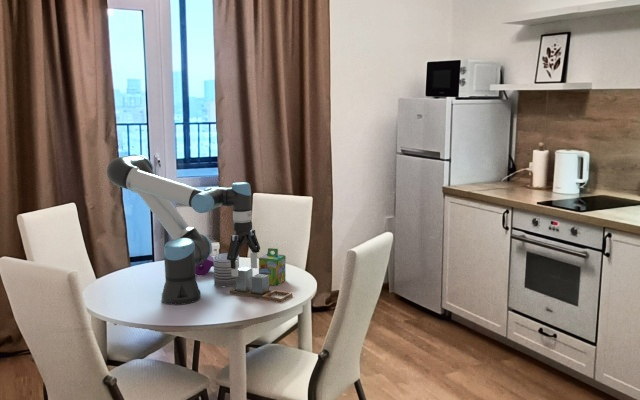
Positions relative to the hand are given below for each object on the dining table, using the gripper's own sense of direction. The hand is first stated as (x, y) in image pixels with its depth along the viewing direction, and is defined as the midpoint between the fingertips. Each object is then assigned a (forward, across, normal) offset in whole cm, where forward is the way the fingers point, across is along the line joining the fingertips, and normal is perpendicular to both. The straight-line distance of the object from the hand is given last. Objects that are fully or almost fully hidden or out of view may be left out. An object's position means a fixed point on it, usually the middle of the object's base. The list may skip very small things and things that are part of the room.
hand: (244, 271), depth 251 cm
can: (+9, +7, +15) cm, 19 cm away
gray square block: (+9, 0, -8) cm, 12 cm away
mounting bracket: (+9, +18, +31) cm, 37 cm away
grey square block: (+9, 0, 0) cm, 9 cm away
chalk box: (+9, +17, -2) cm, 20 cm away
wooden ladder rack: (+9, 0, -8) cm, 12 cm away
